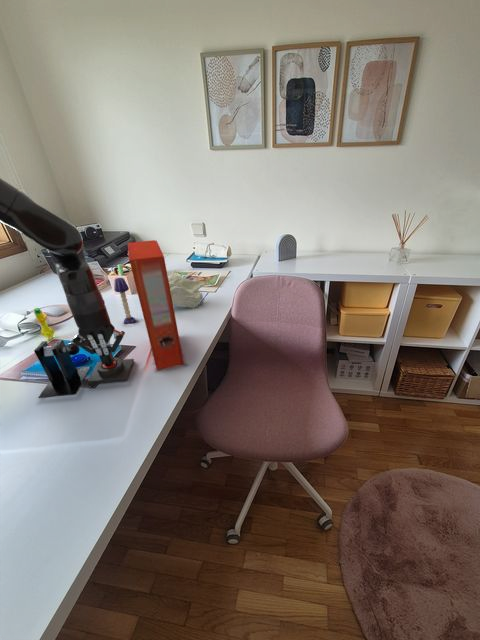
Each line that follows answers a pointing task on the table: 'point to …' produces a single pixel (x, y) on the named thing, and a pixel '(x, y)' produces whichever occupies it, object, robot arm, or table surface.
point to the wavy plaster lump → (185, 291)
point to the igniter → (109, 366)
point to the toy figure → (43, 323)
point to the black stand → (60, 371)
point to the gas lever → (71, 347)
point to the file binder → (156, 302)
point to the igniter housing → (111, 372)
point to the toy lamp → (124, 298)
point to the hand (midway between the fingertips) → (109, 364)
